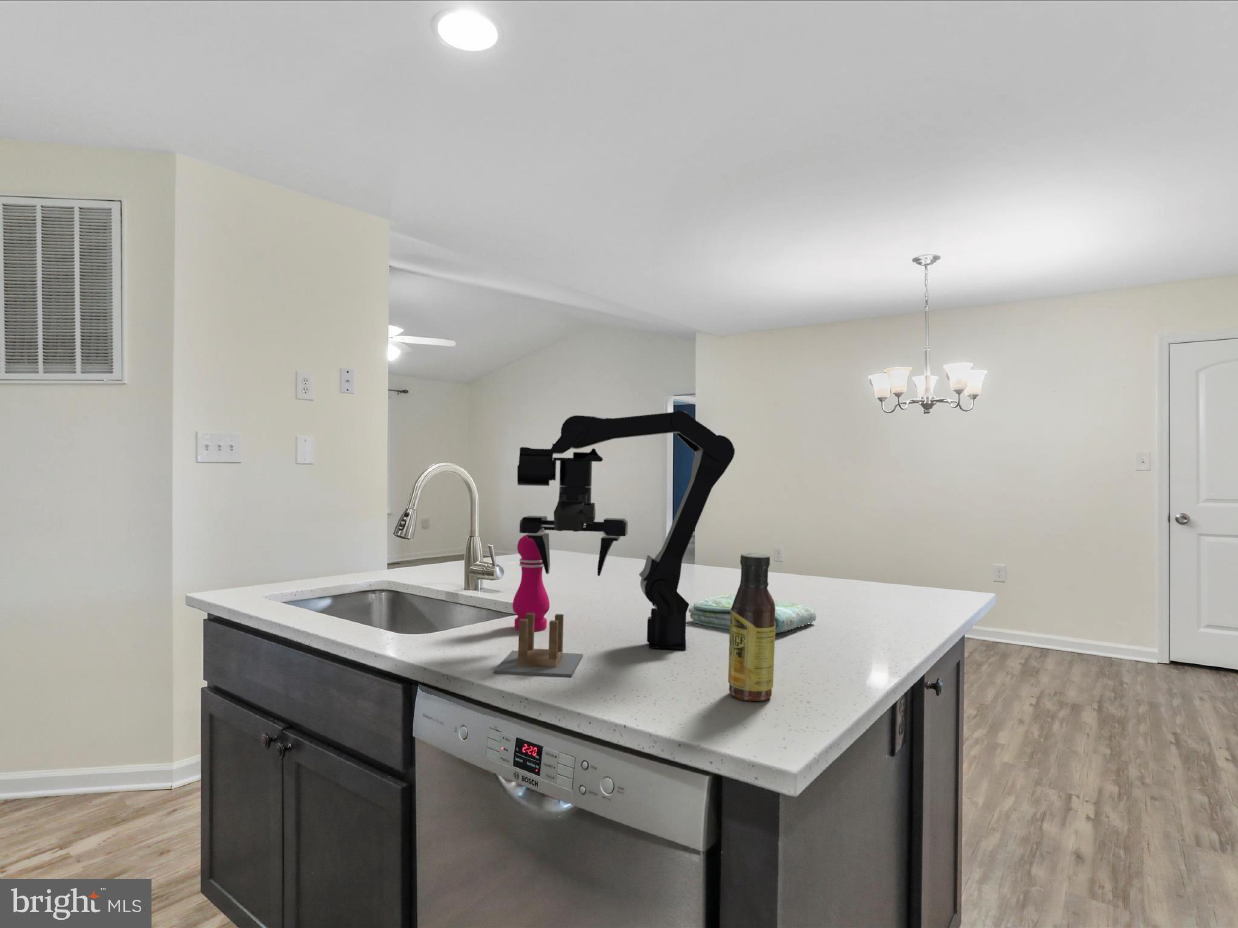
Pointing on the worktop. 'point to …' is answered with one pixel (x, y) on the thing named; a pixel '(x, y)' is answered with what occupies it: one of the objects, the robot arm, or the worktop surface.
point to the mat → (563, 668)
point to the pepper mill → (531, 586)
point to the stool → (540, 656)
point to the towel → (719, 613)
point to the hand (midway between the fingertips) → (573, 574)
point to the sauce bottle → (752, 632)
